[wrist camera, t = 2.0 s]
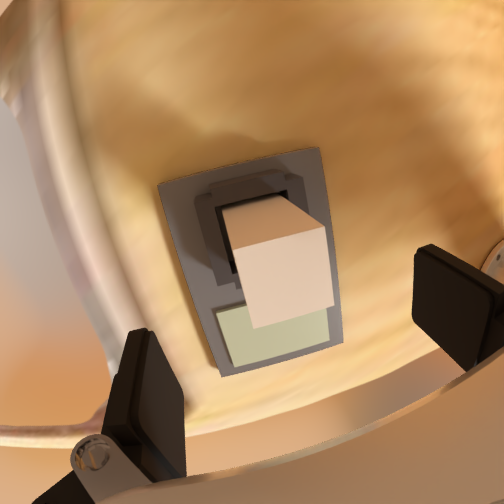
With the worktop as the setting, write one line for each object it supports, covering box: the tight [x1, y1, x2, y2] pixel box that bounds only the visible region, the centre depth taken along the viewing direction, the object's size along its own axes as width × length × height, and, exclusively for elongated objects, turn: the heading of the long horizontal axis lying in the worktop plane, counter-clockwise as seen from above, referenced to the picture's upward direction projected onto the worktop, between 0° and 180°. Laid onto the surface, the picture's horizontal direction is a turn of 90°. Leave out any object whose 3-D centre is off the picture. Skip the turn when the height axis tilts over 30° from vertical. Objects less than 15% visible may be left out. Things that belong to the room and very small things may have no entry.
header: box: [157, 147, 343, 377], centre depth 24 cm, size 12×18×4 cm, turn 13°
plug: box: [221, 192, 334, 329], centre depth 18 cm, size 4×4×10 cm
